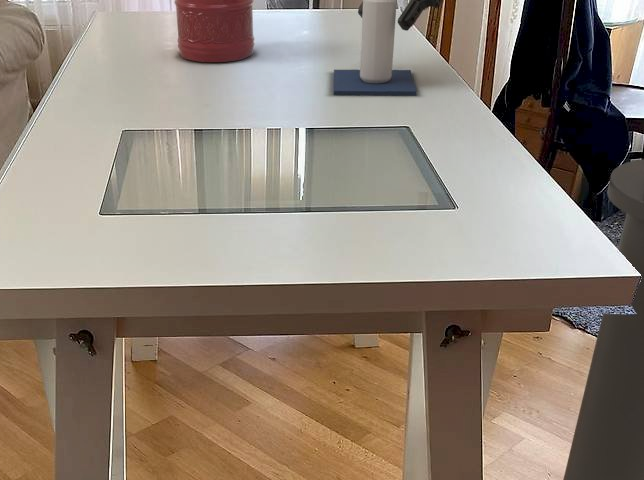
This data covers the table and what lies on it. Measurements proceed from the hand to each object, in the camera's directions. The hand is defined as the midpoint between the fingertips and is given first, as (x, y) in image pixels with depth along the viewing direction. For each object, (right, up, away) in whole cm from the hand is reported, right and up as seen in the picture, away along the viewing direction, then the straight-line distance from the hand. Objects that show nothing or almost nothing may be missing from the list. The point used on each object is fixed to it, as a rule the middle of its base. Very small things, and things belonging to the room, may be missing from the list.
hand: (381, 21), depth 123 cm
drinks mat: (-1, -8, +4) cm, 9 cm away
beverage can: (0, -7, +4) cm, 8 cm away
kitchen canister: (-26, +3, +20) cm, 33 cm away
